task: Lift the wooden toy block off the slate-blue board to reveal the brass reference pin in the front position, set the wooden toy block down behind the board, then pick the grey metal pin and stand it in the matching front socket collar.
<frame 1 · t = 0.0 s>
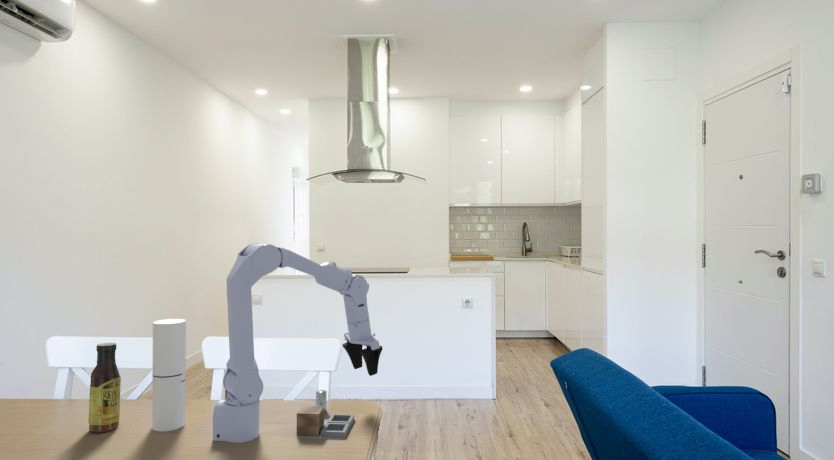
hand: (365, 371, 135), 11 cm above the table, tool pointing down, fingers open, 7 cm apart
board: (326, 432, 121), on the table
wooden toy block: (310, 431, 119), point 1 cm above the table, touching board
lighter: (239, 406, 139), on the table
cylindrical container: (168, 426, 125), on the table
sauce bottle: (104, 429, 123), on the table
pin: (321, 415, 132), on the table
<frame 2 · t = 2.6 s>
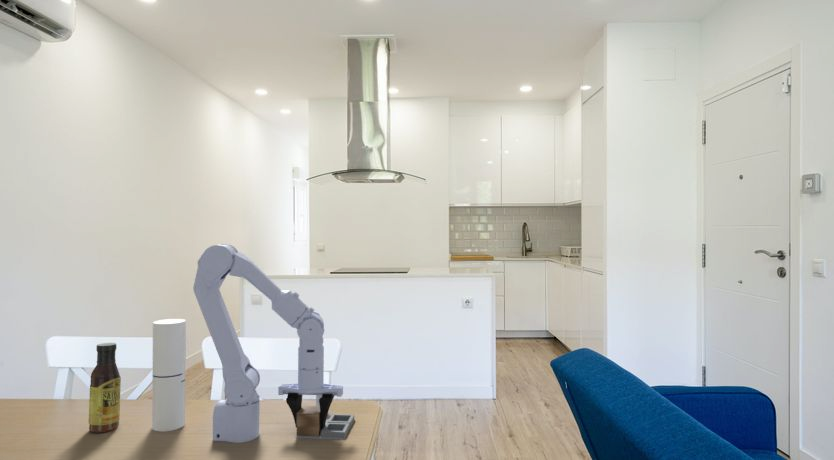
hand: (310, 426, 119), 2 cm above the table, tool pointing down, fingers closed on wooden toy block, 5 cm apart
wooden toy block: (310, 431, 119), point 1 cm above the table, touching board, gripper
everything else where it was.
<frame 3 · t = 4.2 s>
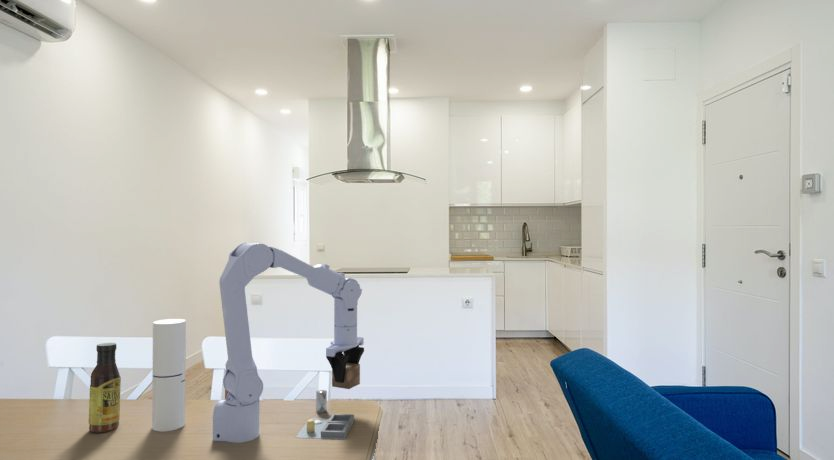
hand: (345, 379, 131), 10 cm above the table, tool pointing down, fingers closed on wooden toy block, 5 cm apart
wooden toy block: (346, 385, 131), point 8 cm above the table, touching gripper
everything else where it was.
when the fingers open (3 cm above the table, at t = 5.9 s): wooden toy block drops 1 cm, on the table.
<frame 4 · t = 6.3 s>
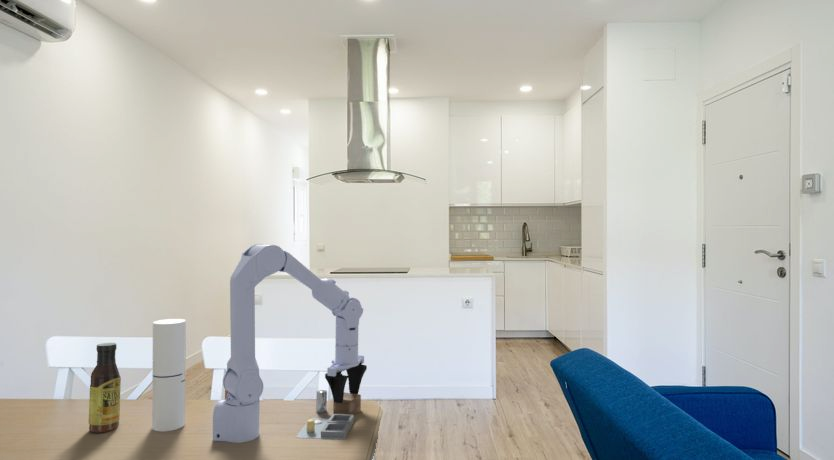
hand: (346, 397, 132), 5 cm above the table, tool pointing down, fingers open, 7 cm apart
wooden toy block: (347, 416, 132), on the table
everything else where it was.
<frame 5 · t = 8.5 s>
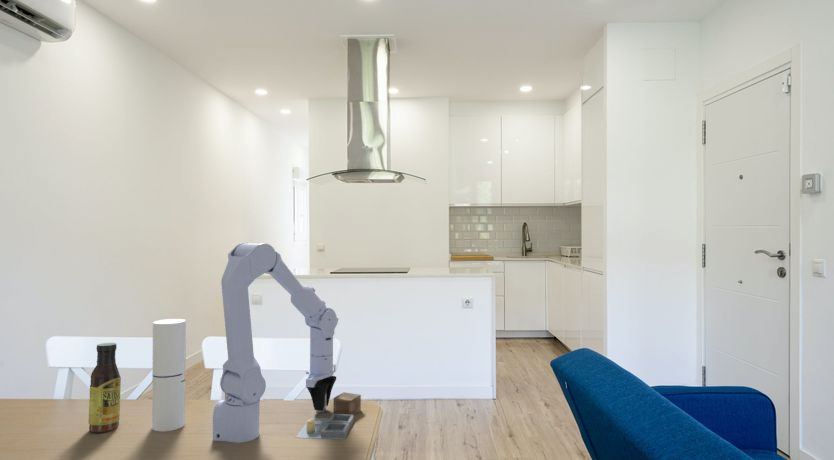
hand: (321, 407, 132), 2 cm above the table, tool pointing down, fingers closed on pin, 3 cm apart
pin: (321, 415, 132), on the table, touching gripper
everything else where it was.
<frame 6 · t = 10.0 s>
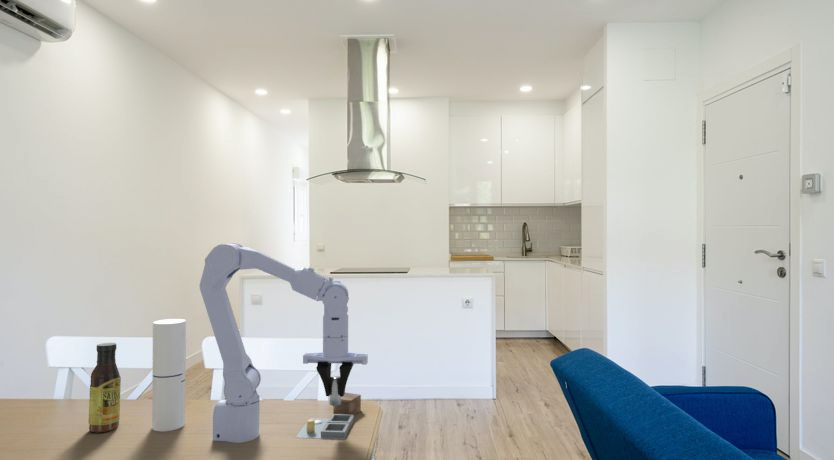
hand: (335, 395, 119), 9 cm above the table, tool pointing down, fingers closed on pin, 3 cm apart
pin: (335, 403, 119), point 7 cm above the table, touching gripper
everything else where it was.
when the fingers open (4 cm above the table, at t = 11.4 s): pin stays where it is, resting on board.
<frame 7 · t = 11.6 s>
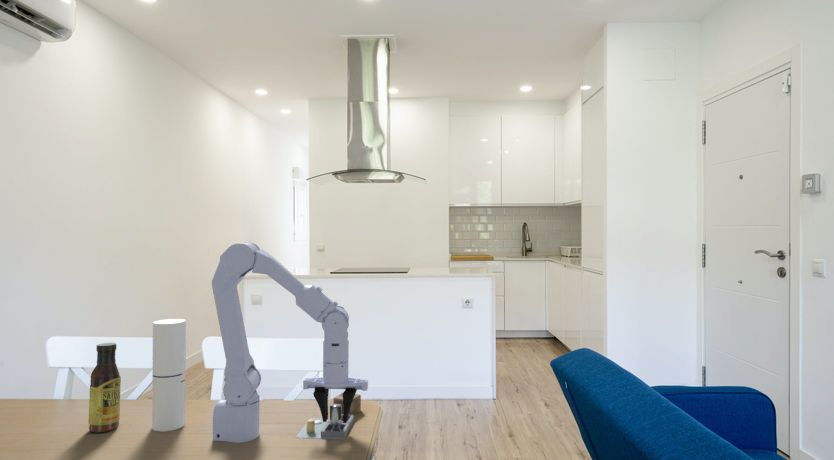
hand: (335, 420, 118), 4 cm above the table, tool pointing down, fingers open, 4 cm apart
pin: (335, 432, 119), point 1 cm above the table, touching board
everything else where it was.
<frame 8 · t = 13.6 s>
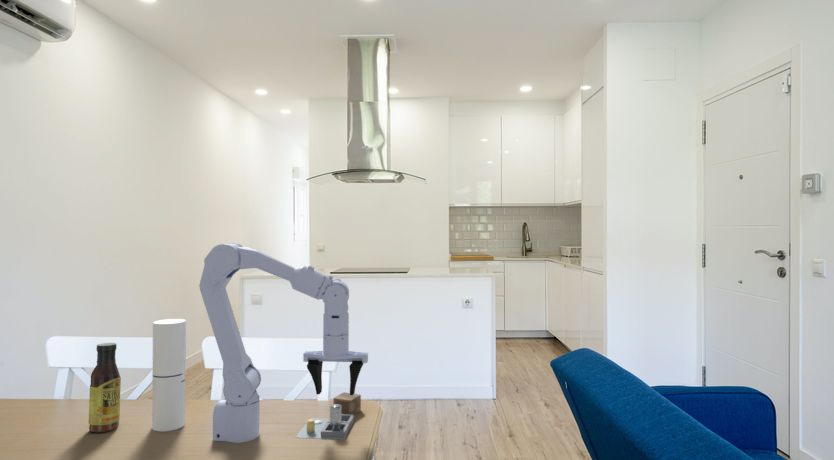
hand: (335, 393, 118), 10 cm above the table, tool pointing down, fingers open, 7 cm apart
nothing on the table moved.
at the end: pin 0.2 cm from the target spot, point 1.0 cm above the table; pin tilted 0°; wooden toy block moved 14.6 cm from its start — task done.
